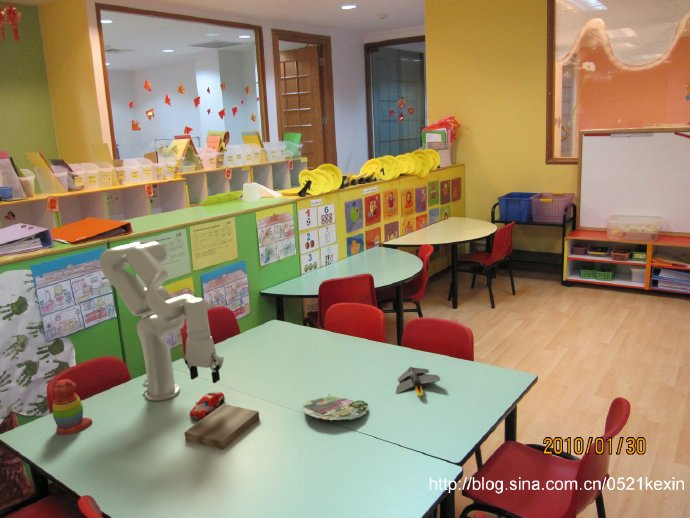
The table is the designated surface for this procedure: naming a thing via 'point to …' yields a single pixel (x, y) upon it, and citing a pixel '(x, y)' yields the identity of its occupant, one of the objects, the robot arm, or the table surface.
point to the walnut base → (222, 426)
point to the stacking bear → (68, 408)
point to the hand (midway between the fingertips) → (205, 379)
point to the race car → (207, 405)
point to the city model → (334, 408)
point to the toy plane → (415, 380)
